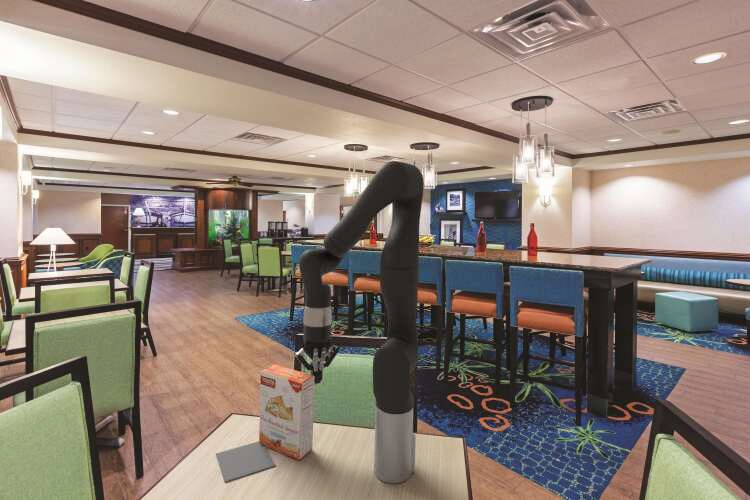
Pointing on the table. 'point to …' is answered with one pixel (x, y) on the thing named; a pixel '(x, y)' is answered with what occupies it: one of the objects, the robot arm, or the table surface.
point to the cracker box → (286, 410)
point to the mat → (244, 461)
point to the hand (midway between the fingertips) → (316, 382)
